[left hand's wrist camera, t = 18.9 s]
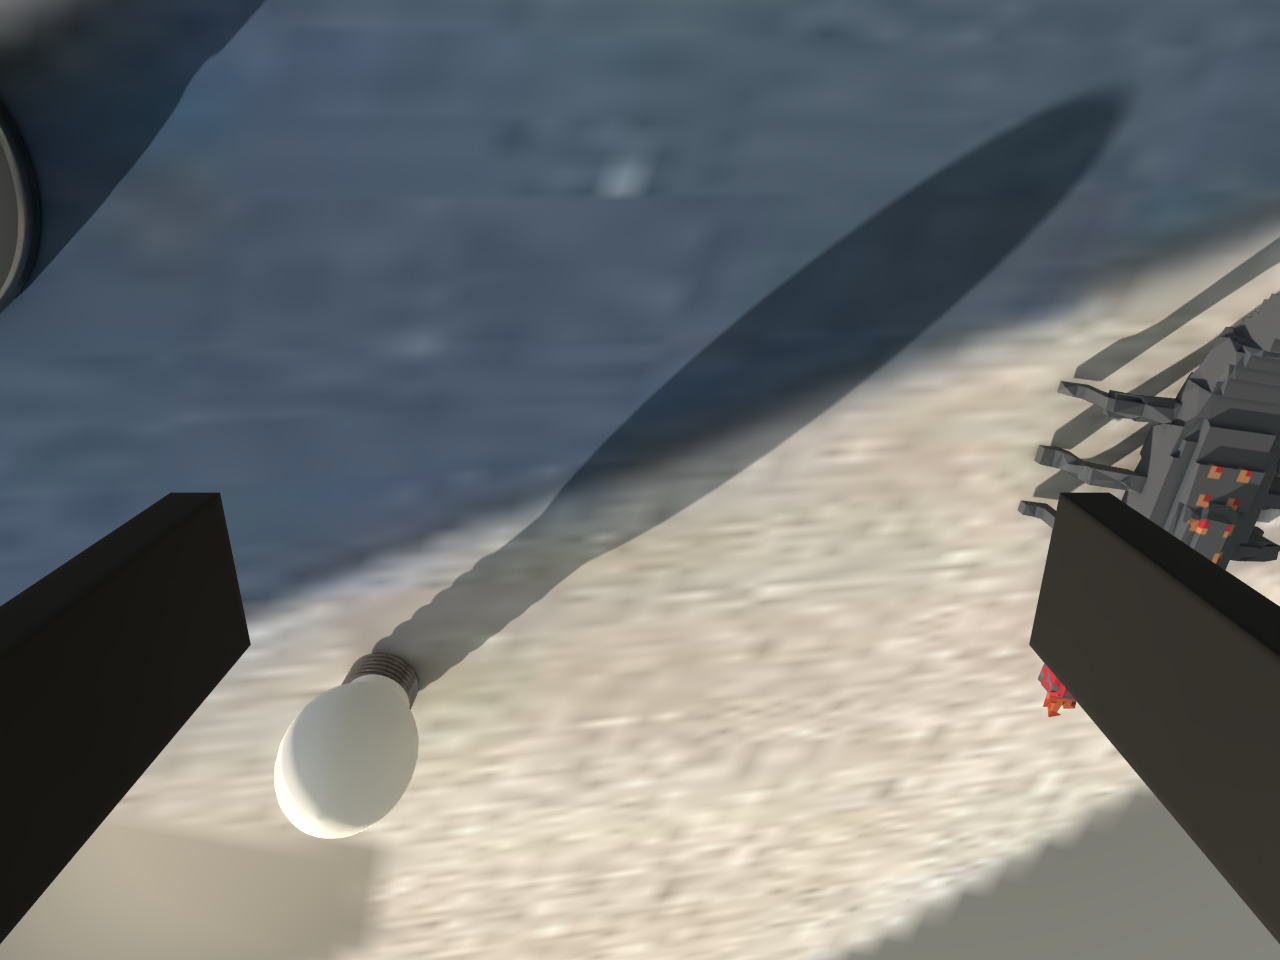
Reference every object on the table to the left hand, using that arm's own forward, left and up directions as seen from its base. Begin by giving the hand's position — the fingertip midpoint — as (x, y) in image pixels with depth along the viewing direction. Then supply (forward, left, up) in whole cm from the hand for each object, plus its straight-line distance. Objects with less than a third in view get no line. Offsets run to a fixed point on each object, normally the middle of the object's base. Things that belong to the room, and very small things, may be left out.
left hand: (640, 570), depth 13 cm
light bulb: (-15, -22, -29) cm, 39 cm away
